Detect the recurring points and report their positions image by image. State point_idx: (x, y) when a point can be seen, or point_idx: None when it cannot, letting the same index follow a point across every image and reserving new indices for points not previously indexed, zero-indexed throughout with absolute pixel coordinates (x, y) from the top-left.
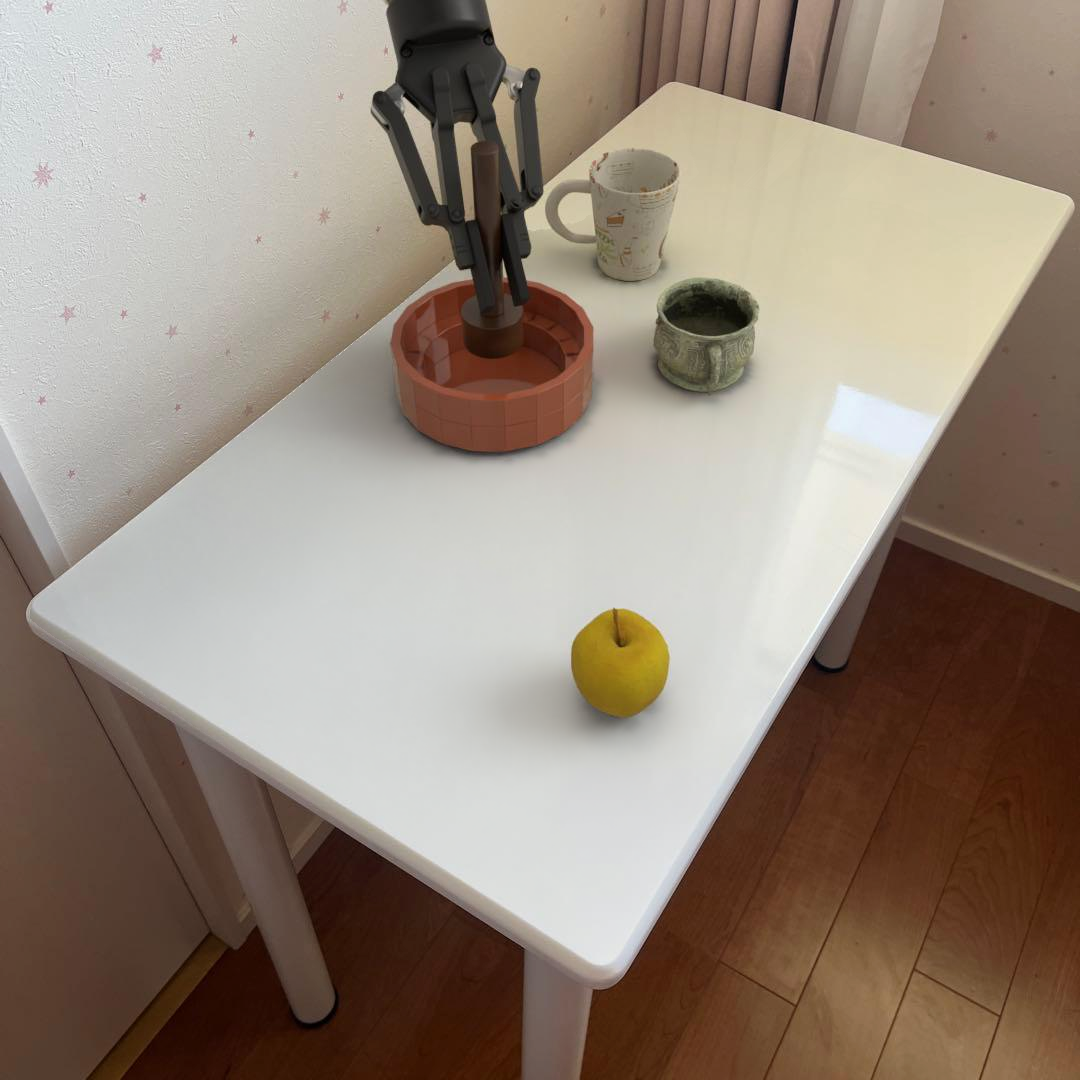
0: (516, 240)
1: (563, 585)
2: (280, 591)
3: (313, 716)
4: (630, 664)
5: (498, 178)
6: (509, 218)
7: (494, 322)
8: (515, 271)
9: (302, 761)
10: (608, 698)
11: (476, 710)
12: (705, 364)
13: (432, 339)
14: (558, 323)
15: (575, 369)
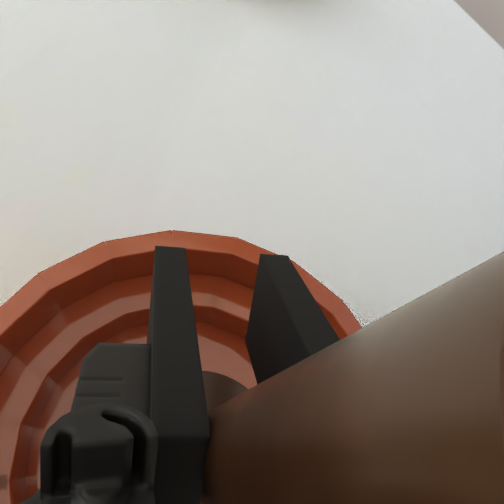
0: (156, 343)
1: (216, 71)
2: (500, 185)
3: (465, 56)
4: None
5: (308, 365)
6: (166, 416)
7: (208, 397)
8: (187, 284)
9: (472, 28)
10: None
11: (337, 3)
12: None
13: None
14: None
15: (61, 265)
